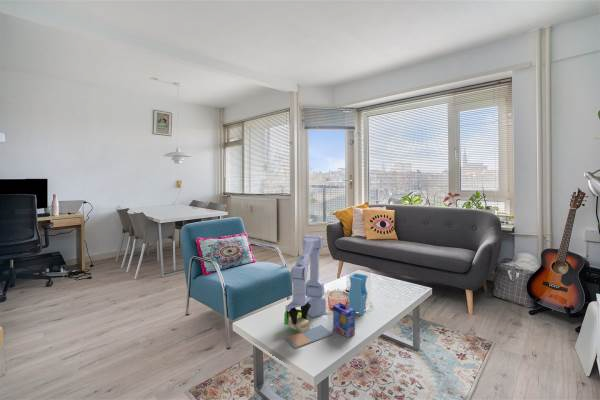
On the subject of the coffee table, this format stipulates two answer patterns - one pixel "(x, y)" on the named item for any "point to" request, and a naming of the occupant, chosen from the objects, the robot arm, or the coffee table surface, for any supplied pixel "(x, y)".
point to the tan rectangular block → (299, 324)
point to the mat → (308, 336)
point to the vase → (358, 293)
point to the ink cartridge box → (344, 319)
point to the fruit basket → (287, 315)
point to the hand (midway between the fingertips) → (299, 321)
